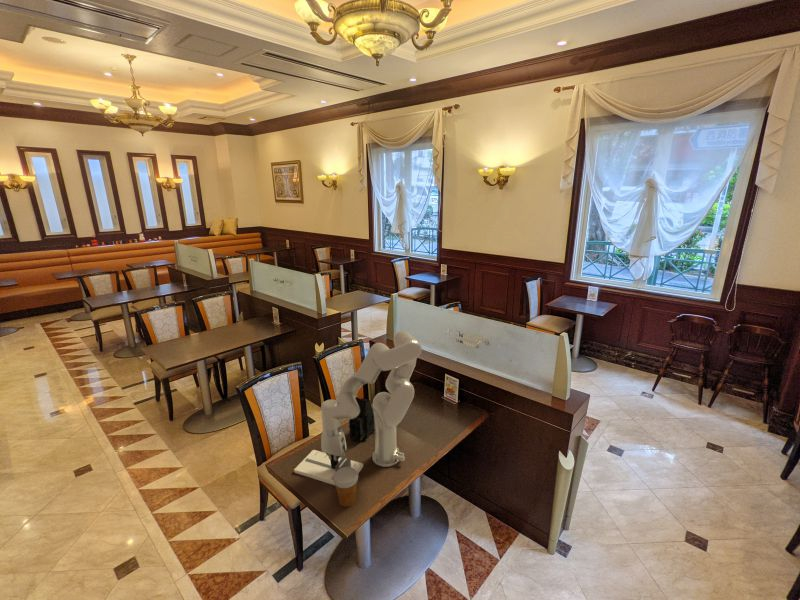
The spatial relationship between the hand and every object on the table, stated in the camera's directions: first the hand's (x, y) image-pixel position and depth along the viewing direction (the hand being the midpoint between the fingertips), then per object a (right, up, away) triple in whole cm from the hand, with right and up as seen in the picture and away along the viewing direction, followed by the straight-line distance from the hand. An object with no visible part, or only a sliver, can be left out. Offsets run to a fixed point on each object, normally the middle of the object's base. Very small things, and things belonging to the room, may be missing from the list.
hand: (334, 466), depth 158 cm
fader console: (-3, -2, +2) cm, 4 cm away
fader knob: (+4, -1, -1) cm, 4 cm away
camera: (+9, +4, +24) cm, 26 cm away
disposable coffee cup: (+7, -7, -15) cm, 18 cm away
